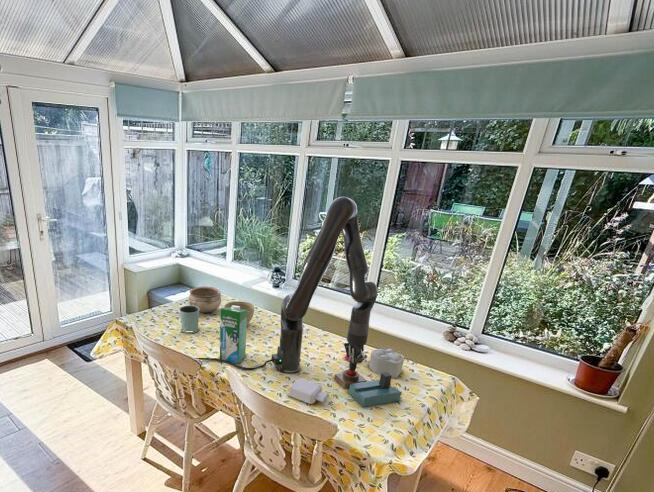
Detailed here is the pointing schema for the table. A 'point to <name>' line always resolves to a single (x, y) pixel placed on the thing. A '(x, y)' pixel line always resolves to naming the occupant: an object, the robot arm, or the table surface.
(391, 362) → the lumpy-topped squat cylinder
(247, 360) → the table surface
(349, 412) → the table surface
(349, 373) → the button
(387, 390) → the control base
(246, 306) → the planter bowl
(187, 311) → the grey-green cylindrical pot
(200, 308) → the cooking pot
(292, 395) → the charger
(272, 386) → the table surface
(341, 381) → the panel
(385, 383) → the slider
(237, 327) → the milk carton
